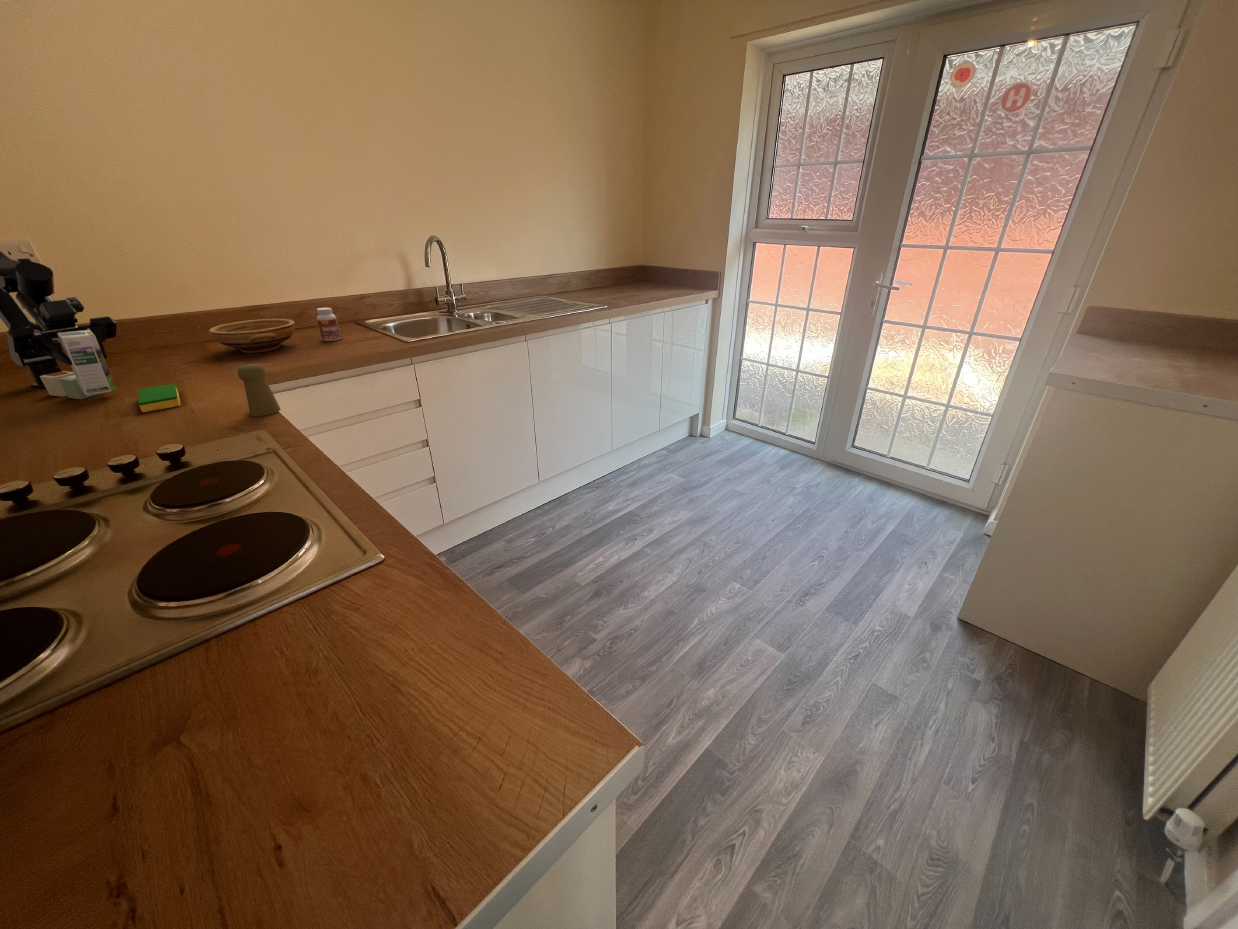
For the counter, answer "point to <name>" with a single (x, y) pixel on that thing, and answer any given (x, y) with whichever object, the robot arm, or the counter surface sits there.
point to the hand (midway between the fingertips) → (88, 360)
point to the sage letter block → (73, 388)
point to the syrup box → (87, 362)
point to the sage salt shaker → (258, 390)
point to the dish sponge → (158, 398)
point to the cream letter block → (55, 383)
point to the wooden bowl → (254, 334)
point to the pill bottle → (328, 325)
